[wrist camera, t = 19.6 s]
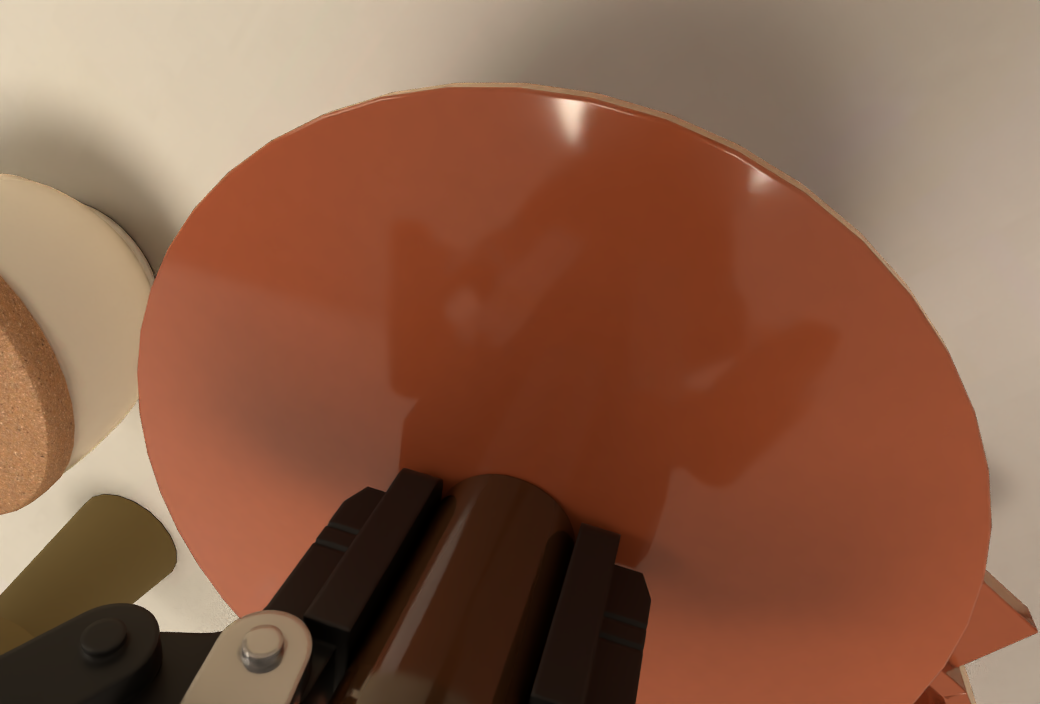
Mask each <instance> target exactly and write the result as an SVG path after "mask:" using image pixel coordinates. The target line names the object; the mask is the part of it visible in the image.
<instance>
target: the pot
mask: <svg viewBox="0 0 1040 704" xmlns="http://www.w3.org/2000/svg"><path fill="white" fill-rule="evenodd" d="M1037 632H1038V630H1037V628H1036V626H1035V623H1034V621H1033V619H1032V616H1031V614H1030V612H1029V609H1028V608H1027V607H1026V606H1025V605H1024V604H1023V603H1022V602H1021V601H1020V600H1018V599H1017V598H1016V597H1015V596H1014V595H1013V594H1012V593H1011V592H1010V591H1009V590H1007V589H1006V588H1005V587H1004V586H1003V585H1002V584H1001V583H1000V582H999V581H998V580H996V579H995V578H994V577H993V576H992V575H991V574H990V573H989V572H988V571H987V570H986V571H985V578H984V581H983V584H982V586H981V589H980V592H979V595H978V598H977V601H976V604H975V607H974V610H973V613H972V616H971V618H970V621H969V624H968V627H967V628H966V630H965V632H964V634H963V635H962V637H961V639H960V641H959V642H958V644H957V646H956V648H955V649H954V651H953V653H952V655H951V656H950V658H949V660H948V662H947V663H946V665H945V667H944V668H943V669H942V670H941V672H940V673H939V674H938V675H937V676H936V678H935V679H934V680H933V681H932V683H931V684H930V685H929V686H928V687H927V689H926V690H925V691H924V692H923V693H922V695H921V696H920V697H919V698H918V699H917V701H916V702H915V703H914V704H976V701H975V698H974V695H973V691H972V688H971V685H970V682H969V678H968V675H967V672H966V669H965V666H964V665H965V664H967V663H969V662H972V661H974V660H976V659H978V658H981V657H983V656H985V655H988V654H990V653H992V652H995V651H997V650H999V649H1001V648H1004V647H1006V646H1008V645H1011V644H1013V643H1015V642H1018V641H1020V640H1022V639H1024V638H1027V637H1029V636H1031V635H1034V634H1036V633H1037Z"/></svg>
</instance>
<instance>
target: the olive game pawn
mask: <svg viewBox="0 0 1040 704" xmlns="http://www.w3.org/2000/svg"><path fill="white" fill-rule="evenodd" d="M175 564H176V549H175V547H174V544H173V542H172V539H171V537H170V535H169V534H168V532H167V531H166V530H165V528H164V527H163V525H162V524H161V523H160V522H159V521H158V520H157V519H156V518H155V517H154V516H153V515H152V514H151V513H150V512H149V511H147V510H146V509H144V508H142V507H141V506H139V505H138V504H136V503H135V502H133V501H130V500H128V499H125V498H122V497H120V496H115V495H106V494H103V495H99V496H95V497H92V498H91V499H90V500H89V501H88V502H86V503H85V504H84V505H83V506H82V508H81V509H80V510H79V511H78V512H77V513H76V514H75V515H74V516H73V517H72V518H71V519H70V521H69V522H68V523H67V524H66V525H65V526H64V527H63V528H62V529H61V530H60V531H59V532H58V533H57V535H56V536H55V537H54V538H53V539H52V540H51V541H50V542H49V543H48V544H47V545H46V546H45V548H44V549H43V550H42V551H41V552H40V553H39V554H38V555H37V556H36V557H35V558H34V559H33V560H32V562H31V563H30V564H29V565H28V566H27V567H26V568H25V569H24V570H23V571H22V572H21V573H20V574H19V576H18V577H17V578H16V579H15V580H14V581H13V582H12V583H11V584H10V585H9V586H8V587H7V589H6V590H5V591H4V592H3V593H2V594H1V595H0V655H2V654H4V653H6V652H8V651H10V650H12V649H14V648H16V647H18V646H20V645H22V644H23V643H25V642H27V641H29V640H31V639H33V638H35V637H37V636H39V635H41V634H43V633H45V632H47V631H49V630H51V629H53V628H55V627H57V626H58V625H60V624H62V623H64V622H66V621H68V620H70V619H72V618H74V617H76V616H78V615H80V614H82V613H84V612H86V611H88V610H90V609H93V608H96V607H99V606H102V605H107V604H114V603H129V604H133V603H134V602H136V601H137V600H138V599H139V598H140V597H142V596H143V595H144V594H145V593H147V592H148V591H149V590H150V589H151V588H153V587H154V586H155V585H156V584H158V583H159V582H160V581H161V580H162V579H164V578H165V577H166V576H167V575H169V574H170V573H171V572H172V571H173V569H174V566H175Z"/></svg>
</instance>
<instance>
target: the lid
mask: <svg viewBox="0 0 1040 704" xmlns="http://www.w3.org/2000/svg"><path fill="white" fill-rule="evenodd" d="M137 380H138V395H139V411H140V418H141V423H142V428H143V433H144V438H145V443H146V448H147V453H148V456H149V459H150V462H151V465H152V468H153V471H154V474H155V477H156V480H157V483H158V487H159V490H160V493H161V495H162V497H163V499H164V501H165V504H166V506H167V508H168V510H169V512H170V514H171V517H172V519H173V521H174V523H175V525H176V527H177V530H178V531H179V533H180V535H181V537H182V538H183V540H184V542H185V543H186V545H187V547H188V548H189V550H190V552H191V553H192V555H193V557H194V559H195V560H196V562H197V564H198V565H199V567H200V568H201V570H202V571H203V572H204V574H205V575H206V576H207V578H208V579H209V581H210V582H211V583H212V585H213V586H214V587H215V589H216V590H217V592H218V593H219V594H220V596H221V597H222V598H223V600H224V601H225V602H226V603H227V604H228V605H229V607H230V608H231V609H232V610H233V611H234V612H235V613H236V615H237V616H238V617H239V618H241V617H242V616H245V615H247V614H250V613H253V612H257V611H262V610H263V609H264V608H265V607H266V606H267V605H268V603H269V602H270V601H271V599H272V598H273V597H274V595H275V594H276V593H277V591H278V590H279V589H280V587H281V586H282V584H283V583H284V582H285V580H286V579H287V578H288V576H289V575H290V574H291V572H292V571H293V570H294V568H295V567H296V565H297V564H298V563H299V561H300V560H301V559H302V557H303V556H304V555H305V553H306V552H307V551H308V549H309V548H310V546H311V545H312V544H313V543H315V542H316V538H317V537H318V536H319V534H320V533H321V531H322V530H323V529H324V527H325V526H327V525H328V523H329V521H330V519H331V518H332V517H333V515H334V514H335V512H336V511H337V510H338V508H339V507H340V506H341V504H342V503H343V502H344V501H345V500H346V499H348V498H350V497H351V496H353V495H355V494H356V493H358V492H359V491H361V490H363V489H364V488H366V487H371V488H374V489H378V490H381V491H384V492H386V491H387V490H388V488H389V487H390V485H391V484H392V482H393V481H394V479H395V478H396V476H397V475H398V473H399V472H400V471H401V470H402V469H403V468H407V469H411V470H414V471H417V472H420V473H424V474H427V475H430V476H434V477H437V478H440V479H442V480H443V490H442V498H441V502H440V504H439V506H438V508H437V510H436V511H435V513H434V515H433V517H432V518H431V520H430V522H429V524H428V526H427V527H426V529H425V531H424V533H423V534H422V536H421V538H420V540H419V542H418V543H417V545H416V547H415V549H414V550H413V552H412V554H411V556H410V558H409V559H408V561H407V563H406V565H405V567H404V568H403V570H402V572H401V574H400V575H399V577H398V579H397V581H396V583H395V584H394V586H393V588H392V590H391V591H390V593H389V595H388V597H387V599H386V600H385V602H384V604H383V606H382V607H381V609H380V611H379V613H378V615H377V616H376V618H375V620H374V622H373V624H372V625H371V627H370V629H369V631H368V632H367V634H366V636H365V638H364V640H363V641H362V643H361V645H360V647H359V648H358V650H357V652H356V654H355V656H354V657H353V659H352V661H351V663H350V664H349V666H348V668H347V670H346V672H345V673H344V675H343V677H342V679H341V681H340V682H339V684H338V686H337V688H336V689H335V691H334V693H333V695H332V697H331V698H330V700H329V702H328V704H528V703H529V699H530V695H531V692H532V689H533V685H534V682H535V678H536V675H537V672H538V668H539V665H540V661H541V658H542V655H543V651H544V648H545V644H546V641H547V638H548V634H549V631H550V627H551V624H552V621H553V617H554V614H555V610H556V607H557V604H558V600H559V597H560V594H561V590H562V587H563V583H564V580H565V577H566V573H567V570H568V566H569V563H570V560H571V556H572V553H573V549H574V546H575V543H576V539H577V536H578V532H579V529H580V526H581V523H585V524H589V525H592V526H595V527H598V528H602V529H605V530H608V531H611V532H615V533H618V534H621V537H620V542H619V546H618V551H617V555H616V560H615V565H618V566H622V567H625V568H628V569H631V570H634V571H637V572H641V573H643V575H644V578H645V582H646V585H647V588H648V591H649V594H650V597H651V605H650V612H649V618H648V625H647V629H646V638H645V645H644V649H643V658H642V664H641V671H640V678H639V684H638V691H637V697H636V704H914V703H915V702H916V701H917V699H918V698H919V697H920V696H921V695H922V693H923V692H924V691H925V690H926V689H927V687H928V686H929V685H930V684H931V683H932V681H933V680H934V679H935V678H936V676H937V675H938V674H939V673H940V672H941V670H942V669H943V668H944V667H945V665H946V663H947V662H948V660H949V658H950V656H951V655H952V653H953V651H954V649H955V648H956V646H957V644H958V642H959V641H960V639H961V637H962V635H963V634H964V632H965V630H966V628H967V627H968V624H969V621H970V618H971V616H972V613H973V610H974V607H975V604H976V601H977V598H978V595H979V592H980V589H981V586H982V584H983V581H984V578H985V571H986V564H987V557H988V550H989V543H990V535H991V528H992V518H991V498H990V479H989V468H988V464H987V459H986V455H985V451H984V447H983V443H982V439H981V434H980V430H979V426H978V422H977V418H976V414H975V411H974V408H973V406H972V404H971V401H970V399H969V397H968V395H967V392H966V390H965V388H964V385H963V383H962V381H961V378H960V376H959V374H958V372H957V369H956V367H955V365H954V362H953V360H952V358H951V355H950V353H949V351H948V349H947V347H946V345H945V343H944V341H943V339H942V338H941V336H940V335H939V333H938V332H937V330H936V329H935V327H934V326H933V324H932V323H931V321H930V319H929V318H928V316H927V315H926V313H925V312H924V310H923V309H922V307H921V306H920V304H919V302H918V301H917V299H916V298H915V296H914V295H913V293H912V292H911V290H910V289H909V287H908V285H907V284H906V283H905V282H904V281H903V280H902V278H901V277H900V276H899V275H898V274H897V273H896V272H895V271H894V270H893V268H892V267H891V266H890V265H889V264H888V263H887V262H886V261H885V259H884V258H883V257H882V256H881V255H880V254H879V253H878V252H877V250H876V249H875V248H874V247H873V246H872V245H871V244H870V243H869V242H868V240H867V239H866V238H865V237H864V236H863V235H862V234H861V233H860V232H859V231H858V230H857V229H856V228H855V227H854V226H852V225H851V224H850V223H849V222H848V221H846V220H845V219H844V218H843V217H842V216H840V215H839V214H838V213H837V212H836V211H834V210H833V209H832V208H831V207H830V206H828V205H827V204H826V203H825V202H824V201H822V200H821V199H820V198H819V197H818V196H816V195H815V194H814V193H813V192H812V191H810V190H809V189H808V188H807V187H806V186H804V185H803V184H802V183H800V182H798V181H797V180H795V179H794V178H792V177H790V176H789V175H787V174H785V173H784V172H782V171H781V170H779V169H777V168H776V167H774V166H773V165H771V164H769V163H768V162H766V161H764V160H763V159H761V158H760V157H758V156H756V155H755V154H753V153H752V152H750V151H748V150H747V149H745V148H743V147H742V146H740V145H739V144H736V143H734V142H732V141H730V140H727V139H725V138H723V137H721V136H718V135H716V134H714V133H712V132H709V131H707V130H705V129H702V128H700V127H698V126H696V125H693V124H691V123H689V122H687V121H684V120H682V119H680V118H678V117H675V116H673V115H671V114H668V113H665V112H661V111H658V110H654V109H651V108H647V107H644V106H641V105H637V104H634V103H630V102H627V101H623V100H620V99H616V98H613V97H609V96H606V95H602V94H599V93H594V92H587V91H580V90H573V89H566V88H559V87H552V86H545V85H538V84H531V83H451V84H444V85H437V86H431V87H424V88H417V89H411V90H404V91H397V92H391V93H388V94H385V95H382V96H378V97H375V98H372V99H369V100H366V101H362V102H359V103H356V104H353V105H350V106H346V107H343V108H340V109H337V110H334V111H331V112H328V113H326V114H323V115H321V116H319V117H317V118H315V119H313V120H311V121H309V122H307V123H305V124H303V125H301V126H299V127H297V128H295V129H293V130H291V131H289V132H287V133H285V134H283V135H281V136H279V137H277V138H275V139H273V140H271V141H270V142H268V143H267V144H266V145H264V146H263V147H262V148H260V149H259V150H258V151H256V152H255V153H254V154H252V155H251V156H249V157H248V158H247V159H245V160H244V161H243V162H241V163H240V164H239V165H237V166H236V167H235V168H233V169H232V170H231V171H229V172H228V173H227V174H226V175H225V176H224V177H223V178H222V179H221V180H220V182H219V183H218V184H217V185H216V186H215V187H214V188H213V189H212V190H211V191H210V192H209V193H208V194H207V195H206V196H205V197H204V198H203V199H202V200H201V202H200V203H199V204H198V205H197V206H196V207H195V208H194V209H193V211H192V212H191V214H190V216H189V217H188V219H187V220H186V222H185V223H184V225H183V226H182V228H181V229H180V231H179V232H178V234H177V235H176V237H175V238H174V240H173V241H172V243H171V244H170V246H169V248H168V250H167V252H166V254H165V257H164V259H163V261H162V264H161V266H160V268H159V271H158V273H157V275H156V278H155V280H154V282H153V285H152V287H151V289H150V294H149V298H148V302H147V306H146V310H145V314H144V318H143V322H142V326H141V331H140V342H139V355H138V367H137Z"/></svg>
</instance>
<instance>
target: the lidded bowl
mask: <svg viewBox="0 0 1040 704" xmlns="http://www.w3.org/2000/svg"><path fill="white" fill-rule="evenodd" d="M154 280H155V278H154V275H153V272H152V270H151V268H150V266H149V264H148V262H147V260H146V258H145V257H144V255H143V253H142V252H141V250H140V249H139V247H138V246H137V245H136V243H135V242H134V241H133V240H132V238H131V237H130V236H129V235H128V234H127V233H126V232H125V231H124V230H123V229H122V228H121V227H120V226H119V225H118V224H116V223H115V222H114V221H113V220H112V219H110V218H109V217H107V216H106V215H104V214H103V213H101V212H100V211H98V210H96V209H94V208H92V207H90V206H87V205H84V204H82V203H80V202H79V201H77V200H75V199H74V198H72V197H70V196H69V195H67V194H64V193H62V192H60V191H58V190H56V189H54V188H52V187H50V186H47V185H44V184H41V183H38V182H35V181H32V180H29V179H26V178H23V177H19V176H16V175H9V174H3V173H0V515H2V514H6V513H10V512H14V511H17V510H19V509H21V508H23V507H24V506H26V505H28V504H30V503H31V502H33V501H34V500H36V499H37V498H38V497H40V496H41V495H42V494H43V493H45V492H46V491H47V490H48V489H49V488H50V487H51V486H52V485H53V484H54V483H55V482H56V481H57V480H58V479H59V478H60V477H61V476H62V474H63V473H65V472H66V471H68V470H69V469H70V468H72V467H73V466H74V465H75V464H77V463H78V462H79V461H80V460H81V459H83V458H84V457H85V456H86V455H88V454H89V453H90V452H91V451H92V450H94V449H95V448H96V447H97V446H98V445H99V444H100V443H101V442H102V441H103V440H104V439H105V438H106V437H107V436H108V435H109V434H110V433H111V432H112V431H113V430H114V429H115V428H116V427H117V426H118V425H119V424H120V423H121V422H122V420H123V419H124V418H125V416H126V415H127V414H128V413H129V411H130V410H131V409H132V407H133V406H134V405H135V403H136V402H137V400H138V398H139V395H138V380H137V367H138V355H139V342H140V331H141V326H142V322H143V318H144V314H145V310H146V306H147V302H148V298H149V294H150V289H151V287H152V285H153V282H154Z"/></svg>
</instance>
